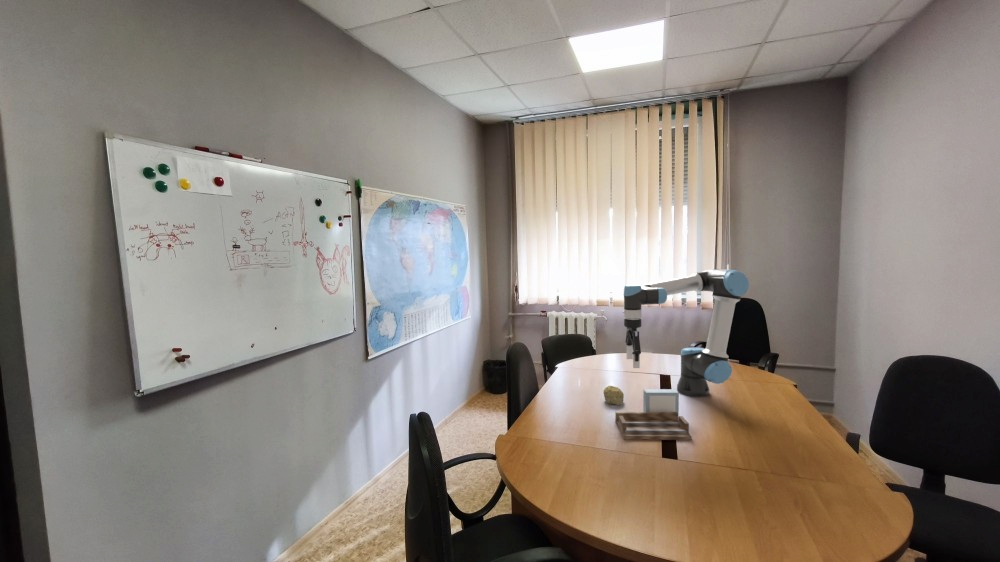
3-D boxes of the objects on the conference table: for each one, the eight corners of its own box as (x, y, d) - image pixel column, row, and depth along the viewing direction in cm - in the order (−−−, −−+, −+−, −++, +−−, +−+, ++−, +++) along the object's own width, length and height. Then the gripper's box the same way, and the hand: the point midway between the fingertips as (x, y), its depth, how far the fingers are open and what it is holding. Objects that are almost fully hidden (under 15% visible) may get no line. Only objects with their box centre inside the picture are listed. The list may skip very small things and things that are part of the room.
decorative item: (623, 408, 193) (620, 388, 198) (626, 403, 184) (623, 382, 190) (603, 408, 193) (601, 388, 199) (606, 403, 185) (603, 382, 190)
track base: (676, 421, 168) (676, 409, 168) (691, 440, 152) (691, 426, 152) (615, 421, 170) (615, 409, 170) (624, 439, 155) (624, 426, 154)
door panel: (675, 415, 175) (675, 389, 174) (678, 419, 171) (679, 392, 170) (643, 414, 176) (643, 389, 175) (646, 419, 172) (646, 392, 171)
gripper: (619, 313, 191) (619, 355, 193) (630, 323, 166) (630, 371, 168) (634, 313, 190) (634, 355, 192) (648, 323, 165) (648, 372, 167)
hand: (632, 363), depth 180 cm, fingers open, 13 cm apart
